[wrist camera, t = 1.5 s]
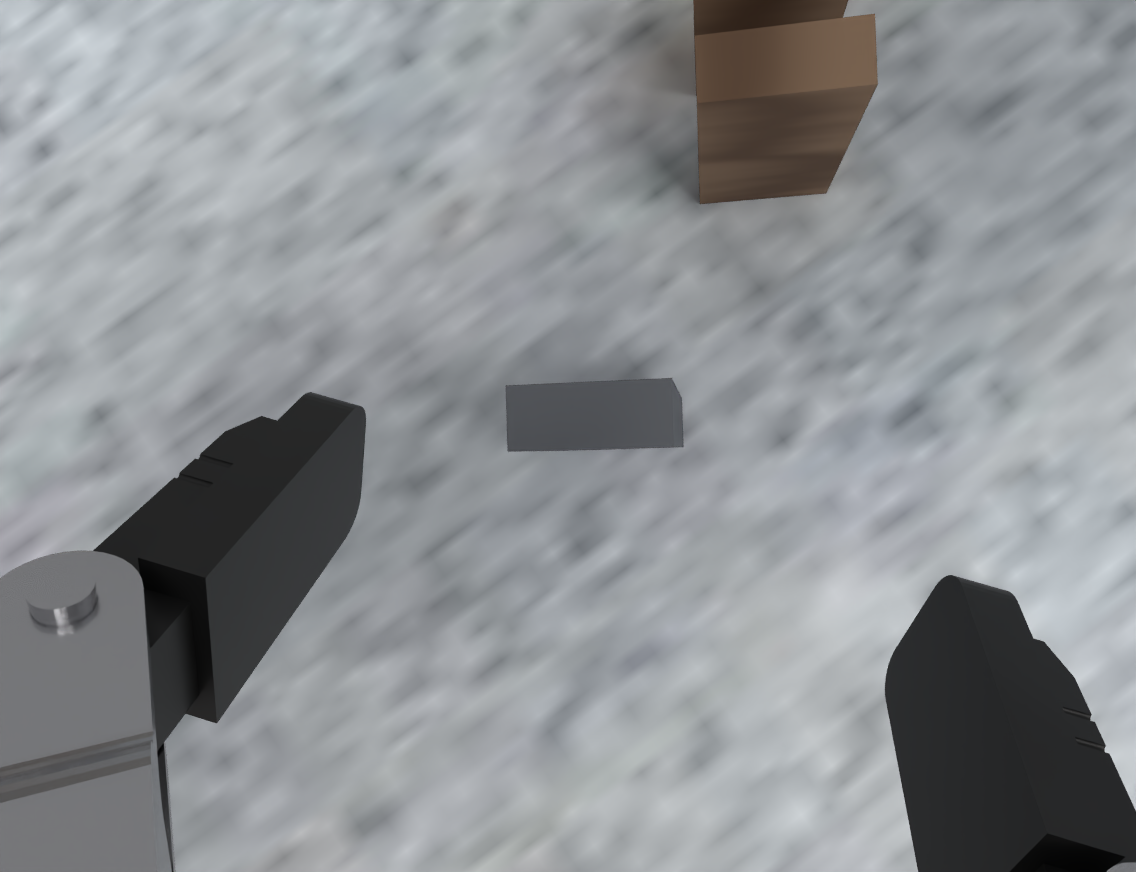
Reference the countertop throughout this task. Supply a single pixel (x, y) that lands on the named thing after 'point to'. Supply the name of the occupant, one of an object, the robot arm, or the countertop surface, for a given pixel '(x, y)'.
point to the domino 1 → (594, 415)
